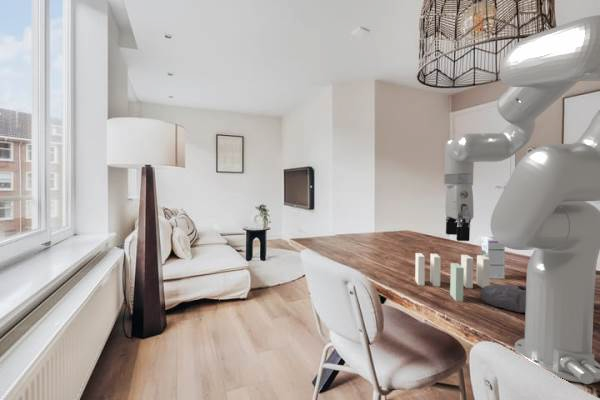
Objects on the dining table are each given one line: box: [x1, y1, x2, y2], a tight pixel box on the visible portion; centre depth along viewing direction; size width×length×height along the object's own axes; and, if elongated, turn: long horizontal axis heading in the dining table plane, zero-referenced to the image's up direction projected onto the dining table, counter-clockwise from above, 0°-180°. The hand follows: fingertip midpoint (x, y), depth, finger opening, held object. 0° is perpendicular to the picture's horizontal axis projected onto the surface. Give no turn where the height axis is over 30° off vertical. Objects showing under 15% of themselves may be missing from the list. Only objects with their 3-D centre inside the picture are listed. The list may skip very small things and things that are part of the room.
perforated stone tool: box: [479, 284, 526, 313], centre depth 77 cm, size 15×5×7 cm, turn 51°
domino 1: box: [414, 252, 426, 286], centre depth 98 cm, size 5×2×10 cm, turn 169°
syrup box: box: [481, 236, 506, 280], centre depth 104 cm, size 6×6×14 cm
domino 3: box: [449, 262, 464, 302], centre depth 85 cm, size 5×2×10 cm, turn 169°
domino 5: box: [475, 254, 491, 288], centre depth 94 cm, size 5×2×10 cm, turn 169°
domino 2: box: [429, 253, 442, 287], centre depth 97 cm, size 5×2×10 cm, turn 169°
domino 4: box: [460, 254, 474, 289], centre depth 95 cm, size 5×2×10 cm, turn 169°
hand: (456, 237), depth 85 cm, fingers open, 9 cm apart
